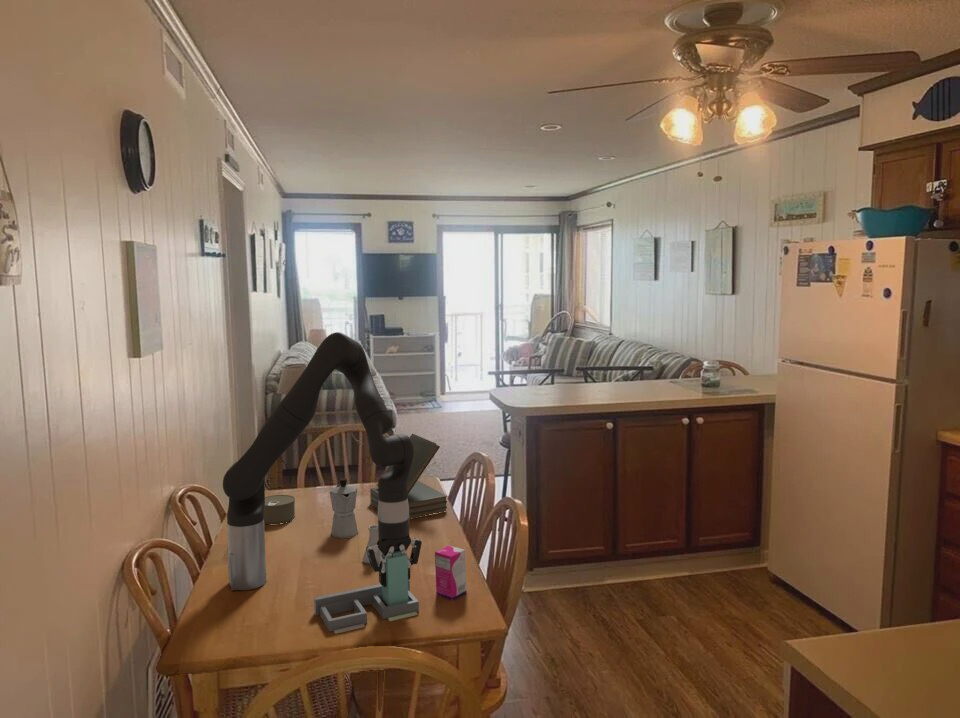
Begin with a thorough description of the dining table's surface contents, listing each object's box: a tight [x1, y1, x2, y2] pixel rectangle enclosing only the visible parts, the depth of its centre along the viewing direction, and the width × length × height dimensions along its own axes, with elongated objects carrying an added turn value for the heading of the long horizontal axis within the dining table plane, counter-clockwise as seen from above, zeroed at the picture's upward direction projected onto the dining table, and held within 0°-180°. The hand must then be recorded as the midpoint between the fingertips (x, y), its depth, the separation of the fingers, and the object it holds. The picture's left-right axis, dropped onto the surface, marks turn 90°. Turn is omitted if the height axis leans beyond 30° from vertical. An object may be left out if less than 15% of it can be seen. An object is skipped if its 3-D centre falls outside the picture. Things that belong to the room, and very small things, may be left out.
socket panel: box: [313, 580, 420, 635], centre depth 165 cm, size 24×12×4 cm, turn 116°
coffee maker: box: [329, 478, 359, 539], centre depth 219 cm, size 15×9×18 cm, turn 22°
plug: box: [381, 551, 409, 606], centre depth 168 cm, size 5×5×13 cm
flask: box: [361, 524, 381, 565], centre depth 197 cm, size 7×7×10 cm
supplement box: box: [434, 545, 467, 601], centre depth 175 cm, size 6×6×12 cm
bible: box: [369, 433, 448, 520], centre depth 243 cm, size 23×20×25 cm
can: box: [264, 494, 296, 525], centre depth 233 cm, size 12×12×7 cm
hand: (395, 583), depth 168 cm, fingers closed on plug, 5 cm apart
